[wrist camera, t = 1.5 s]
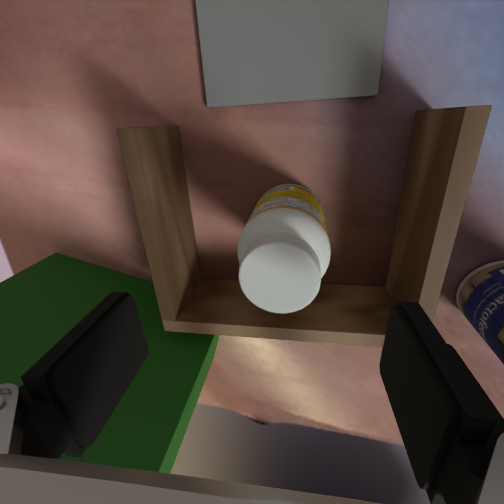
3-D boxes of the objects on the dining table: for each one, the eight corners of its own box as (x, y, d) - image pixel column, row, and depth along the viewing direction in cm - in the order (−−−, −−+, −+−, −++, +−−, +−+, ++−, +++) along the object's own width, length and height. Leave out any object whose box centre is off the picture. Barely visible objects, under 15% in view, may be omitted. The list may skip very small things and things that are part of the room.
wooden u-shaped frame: (433, 109, 17) (492, 104, 12) (396, 297, 23) (424, 350, 18) (165, 126, 20) (116, 128, 15) (192, 287, 26) (164, 330, 21)
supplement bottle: (275, 169, 20) (256, 204, 12) (337, 204, 21) (362, 264, 12) (243, 228, 23) (208, 292, 14) (299, 259, 23) (297, 340, 15)
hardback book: (61, 310, 31) (-497, 750, 9) (55, 252, 27) (-846, 737, 6) (213, 358, 30) (-11, 954, 9) (226, 305, 27) (-88, 1072, 5)
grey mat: (404, -144, 13) (407, -152, 13) (375, 95, 17) (377, 95, 17) (186, -99, 15) (183, -104, 15) (209, 107, 19) (207, 107, 19)
